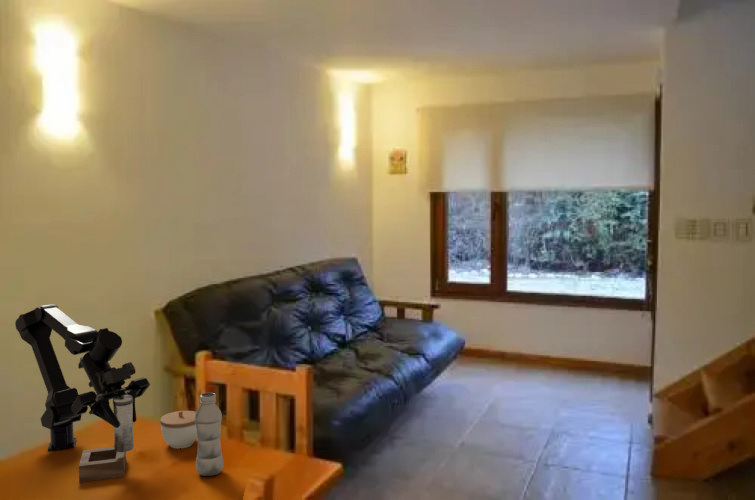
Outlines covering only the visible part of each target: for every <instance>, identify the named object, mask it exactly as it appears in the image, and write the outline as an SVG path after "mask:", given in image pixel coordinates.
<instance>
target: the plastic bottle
mask: <svg viewBox="0 0 755 500" xmlns="http://www.w3.org/2000/svg"><path fill="white" fill-rule="evenodd" d="M216 397H217V395H216V393H214V392H203V393H201V394H200V395H199V404H200V405H199V406H198V408H196V409H197V410H196V411H195V412H196V413H195V416H194V418H195V425H196V430H197V439H196V440H197V448H196V449H197V453H196V458H195V469H196V472H197V474H198V475H200V476H203V477H211V476H215V475H219V474H220V473H221V472H222V470H223V468H224V457H223V453H222V447H221V446H222V445H221V427H222V417H223V416H222V411H221V409H220V408H219V407H218V405H217V404H216V402H217V399H216Z"/></svg>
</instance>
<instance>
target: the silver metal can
mask: <svg viewBox="0 0 755 500" xmlns="http://www.w3.org/2000/svg"><path fill="white" fill-rule="evenodd" d="M112 406H113V409H112V411H113V413H114V415H115V417H116V419H117V421H118V423H119V427H118V428H115V427H114V426H113V440H114V442H113V445H114V446H113V447H114V450H115V451H116V452H126V453H127V452H130V451H132V450H133V449H134V422H133V398H132V396H131V395H119V396H116V397H114V398H113V399H112Z"/></svg>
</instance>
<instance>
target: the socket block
mask: <svg viewBox="0 0 755 500" xmlns="http://www.w3.org/2000/svg"><path fill="white" fill-rule="evenodd" d="M126 464H127V452H116V451H115V450H114V446H110V447H109V446H108V447H101V448H91V449H83V450H82V454H81V457H80V461H79V464H78V478H79V480H78V481H79V483H83V482H84V483H85V482H86V483H87V482H92V481H93V482H94V481H101V480H107V479H108V480H109V479H115V478H122V477H125V473H126Z"/></svg>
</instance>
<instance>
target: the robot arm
mask: <svg viewBox="0 0 755 500" xmlns="http://www.w3.org/2000/svg"><path fill="white" fill-rule="evenodd" d="M15 329H16V331H17V332H18V333H19V336H20V338H21V339H22V340H23V341H24V342H25V343H27V344H28V345H30V347H31V349H32V352H33V354H34V357H35V358H34V359H35V360H36V363H37V366H38V368H39V371H40V374H41V376H42V380H43V383H44V385H45V389H46V391H47V395H46V400H45V403H44V407H45V411H44V412H43V414H42V416H41V417H40V423H41V426H42V427H43V428H46V429H49V435H50V436H49V437H50V442H49V444H48V446H47V451H56V450H65V449H73V448H75V445H76V442H77V437H74V423H75V422H79V421H81V420H82V415H83V414H86V413H87V411H88V409H89V408H90V410H89V412H88V414H89V415H94V416H96V417H98V418H99V419H101V420H104V421H105V422H106V423H108V424H109V425H111V426H112V427H113V428H114V427H115V428H118V427H119V423H118V421H117V419H116V417H115V415H114V412H113V409H112V408H111V405H110V400H113V398H114V397H116V396H119V395H131V396H132V398H133V423H136V422H137V412H136V399H137V398H140V397H142V396H143V394H144V393H145V392H146V390H147V389H148V388H149V387H150V386H151V383H150V382H149V380H148V379H147V378H146V377H144V376H142V377H139V378H135V379H132V376H133V375H135V374H136V372H137V371H136V367H135V366H134V364H133V363H132V362H125V363H124V364H122V365H121V367H118V368H117V367H112V366H111V364H110V363H109V362H110V361H111V360H112V359H113V358H114V357H115V355H116V353H117V352H118V351H119V350H120V348H121V346H122V345H123V339H122V336H120V335H119V334H118V333H116V332H114V331H111V330H109V328H108V327H105V328H104V327H103V328H100V329H99V330H98V331H97V330H96V329H95V328H94V327H91V326H86V325H81V324H78V323H77V322H76V321H74V319H72V318H70V317H69V316H68V315H67V314H65V313H64V312H63V311H62V310H61V309H60V308H59V306H58V305H57V304H53V303H52V304H45V305H39V306H38V307H36V308H34V309H32V310H30V311H28V312H26V313H23V314H22V313H21V314H20V315H19V316H18V318H16V320H15ZM52 331H54V332H55V333H57V335H59V336H60V337H61V338H62V339H63V340H64V347H65V348H66V349H67V351H69V353H70V354H72V355H73V356H77V355H82V354H84V355H83V356H81V357H80V359H79V363H78V369H83V370H84V372H85V373H86V376H87V377H88V380H89V382H88V386H89V388H93V390H94V391H92V390H90V391H87V392H84V393H80V394H79V392H78V389H77V388H76V387H70V386H68V384H67V382H66V379H65V376H64V374H63V371H62V367H61V366H60V362H59V359H58V357H57V354H56V352H55V349H54V346H53V344H52V341H51V335H52ZM130 379H132V380H131V381H130V382H129V384H128V385H127V386H124V385H125V384H126V380H130ZM122 386H124V387H122Z"/></svg>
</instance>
